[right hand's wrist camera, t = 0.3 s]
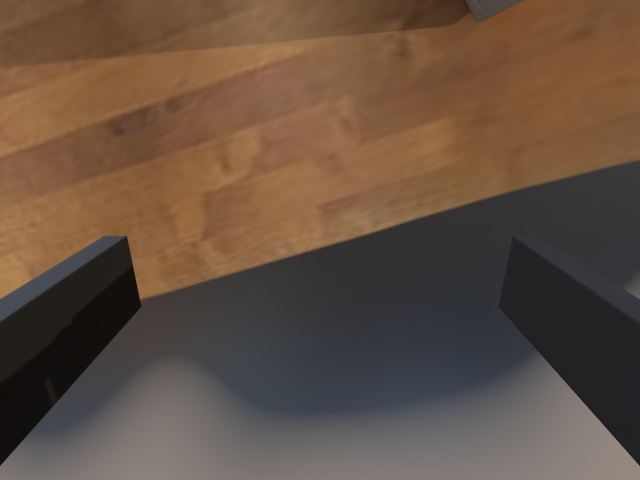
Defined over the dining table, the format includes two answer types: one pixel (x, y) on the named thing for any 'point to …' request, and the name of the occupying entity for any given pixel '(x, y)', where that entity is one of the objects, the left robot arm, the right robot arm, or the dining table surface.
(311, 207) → the dining table surface
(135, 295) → the right robot arm
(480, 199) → the dining table surface
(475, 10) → the hard drive box
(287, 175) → the dining table surface
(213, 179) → the dining table surface
